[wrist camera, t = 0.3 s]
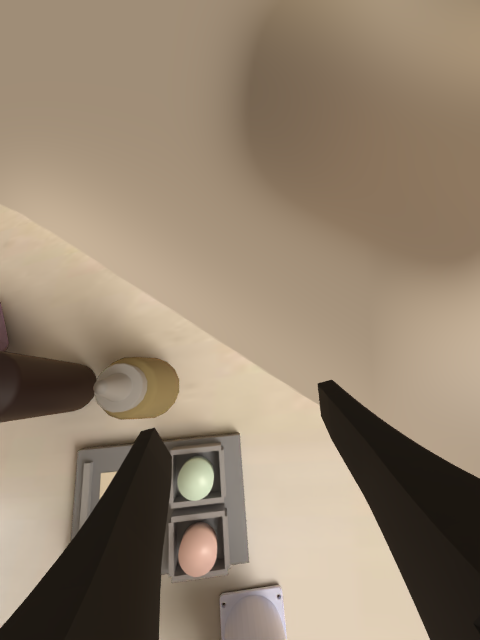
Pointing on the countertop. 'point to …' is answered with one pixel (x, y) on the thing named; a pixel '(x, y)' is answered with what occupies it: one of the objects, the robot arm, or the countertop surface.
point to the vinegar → (41, 386)
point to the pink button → (198, 549)
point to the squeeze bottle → (137, 388)
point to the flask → (3, 332)
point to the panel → (179, 498)
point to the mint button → (196, 478)
